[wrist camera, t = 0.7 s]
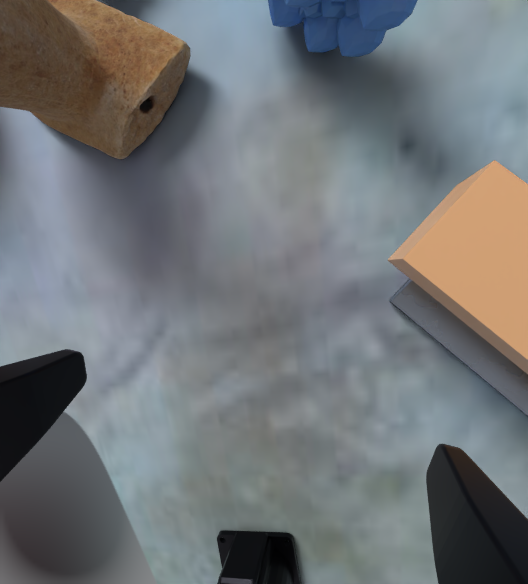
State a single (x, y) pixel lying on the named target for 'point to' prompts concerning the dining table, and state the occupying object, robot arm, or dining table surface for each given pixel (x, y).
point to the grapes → (342, 22)
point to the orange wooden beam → (478, 258)
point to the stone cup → (89, 70)
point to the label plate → (464, 343)
